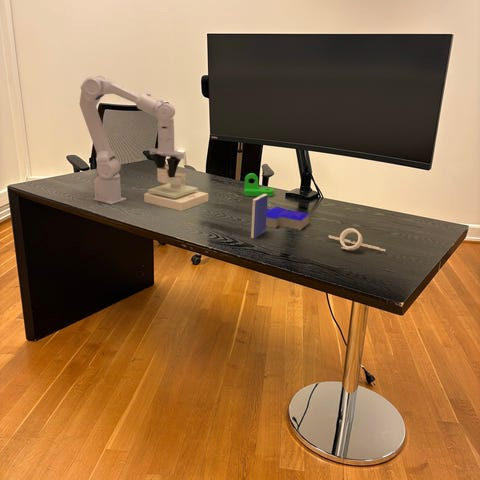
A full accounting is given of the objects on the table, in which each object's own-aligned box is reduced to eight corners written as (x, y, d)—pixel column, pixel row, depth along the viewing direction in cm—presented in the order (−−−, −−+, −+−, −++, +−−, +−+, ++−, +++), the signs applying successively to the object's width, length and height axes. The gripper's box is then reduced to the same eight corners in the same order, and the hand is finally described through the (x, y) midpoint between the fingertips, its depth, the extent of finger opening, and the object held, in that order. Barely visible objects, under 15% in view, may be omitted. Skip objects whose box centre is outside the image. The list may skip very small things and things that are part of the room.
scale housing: (144, 201, 176) (143, 192, 175) (171, 193, 189) (171, 184, 187) (181, 211, 167) (181, 201, 166) (208, 201, 180) (208, 192, 179)
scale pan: (147, 192, 175) (147, 189, 175) (172, 184, 186) (172, 182, 186) (174, 198, 169) (174, 195, 168) (198, 190, 180) (198, 187, 179)
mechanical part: (244, 195, 190) (245, 176, 187) (244, 191, 195) (245, 173, 192) (274, 196, 190) (275, 177, 187) (272, 192, 195) (274, 173, 193)
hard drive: (266, 231, 150) (268, 194, 146) (254, 239, 144) (256, 200, 139) (261, 230, 151) (263, 193, 147) (250, 238, 144) (252, 199, 140)
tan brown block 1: (157, 181, 172) (157, 168, 170) (165, 179, 175) (165, 165, 173) (166, 183, 170) (166, 169, 168) (174, 181, 173) (174, 167, 171)
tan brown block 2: (170, 188, 178) (170, 175, 176) (175, 185, 182) (175, 172, 180) (181, 189, 176) (180, 176, 175) (186, 186, 180) (185, 173, 178)
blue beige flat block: (268, 216, 166) (269, 202, 164) (308, 224, 160) (310, 209, 158) (255, 225, 157) (255, 210, 155) (297, 233, 150) (298, 218, 148)
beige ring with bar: (316, 241, 138) (322, 220, 138) (326, 248, 146) (332, 228, 147) (375, 256, 129) (382, 233, 129) (383, 263, 137) (389, 242, 138)
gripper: (143, 137, 168) (144, 174, 172) (174, 142, 160) (175, 181, 165) (156, 135, 173) (157, 171, 178) (187, 140, 166) (187, 177, 171)
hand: (166, 176), depth 172 cm, fingers closed on tan brown block 1, 4 cm apart
